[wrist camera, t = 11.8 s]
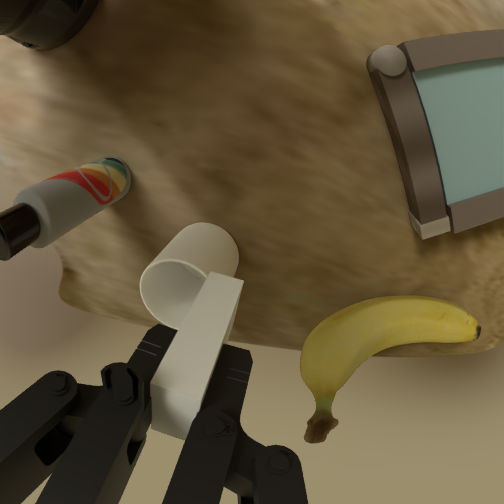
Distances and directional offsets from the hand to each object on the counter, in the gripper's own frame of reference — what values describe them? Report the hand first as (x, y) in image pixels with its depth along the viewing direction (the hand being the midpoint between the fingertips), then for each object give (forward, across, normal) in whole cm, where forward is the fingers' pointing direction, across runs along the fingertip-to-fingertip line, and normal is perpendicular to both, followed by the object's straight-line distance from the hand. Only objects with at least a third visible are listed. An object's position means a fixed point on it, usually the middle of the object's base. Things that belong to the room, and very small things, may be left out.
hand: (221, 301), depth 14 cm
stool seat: (+22, -21, -15) cm, 34 cm away
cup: (+23, +5, +12) cm, 26 cm away
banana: (+23, -18, +11) cm, 31 cm away
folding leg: (+22, -12, -9) cm, 27 cm away
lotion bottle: (+23, +19, +4) cm, 30 cm away
